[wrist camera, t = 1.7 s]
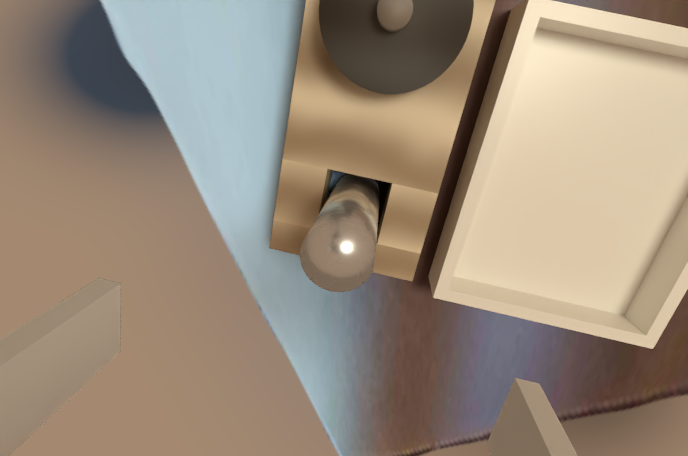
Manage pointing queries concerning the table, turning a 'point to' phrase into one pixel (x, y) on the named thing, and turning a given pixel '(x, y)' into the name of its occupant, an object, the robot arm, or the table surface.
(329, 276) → the lock pin
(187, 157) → the table surface
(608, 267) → the tray
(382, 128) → the tensioner plate
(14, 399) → the robot arm
